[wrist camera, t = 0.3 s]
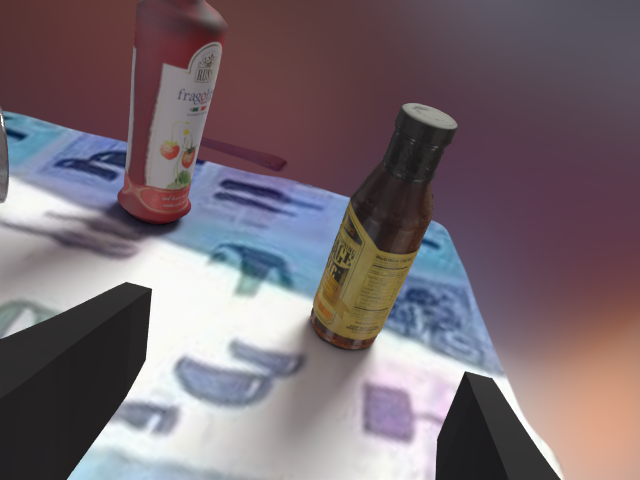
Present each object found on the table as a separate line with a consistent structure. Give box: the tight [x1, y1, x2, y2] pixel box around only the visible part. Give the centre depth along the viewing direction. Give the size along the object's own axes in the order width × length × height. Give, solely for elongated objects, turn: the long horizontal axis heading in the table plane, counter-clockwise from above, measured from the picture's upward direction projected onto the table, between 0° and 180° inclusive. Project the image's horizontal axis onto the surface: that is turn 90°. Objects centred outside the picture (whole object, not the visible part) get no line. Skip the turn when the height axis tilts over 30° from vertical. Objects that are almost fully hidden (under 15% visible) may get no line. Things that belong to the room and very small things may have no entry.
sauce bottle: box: [311, 103, 457, 350], centre depth 43 cm, size 6×6×20 cm
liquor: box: [117, 0, 228, 225], centre depth 49 cm, size 7×7×28 cm
